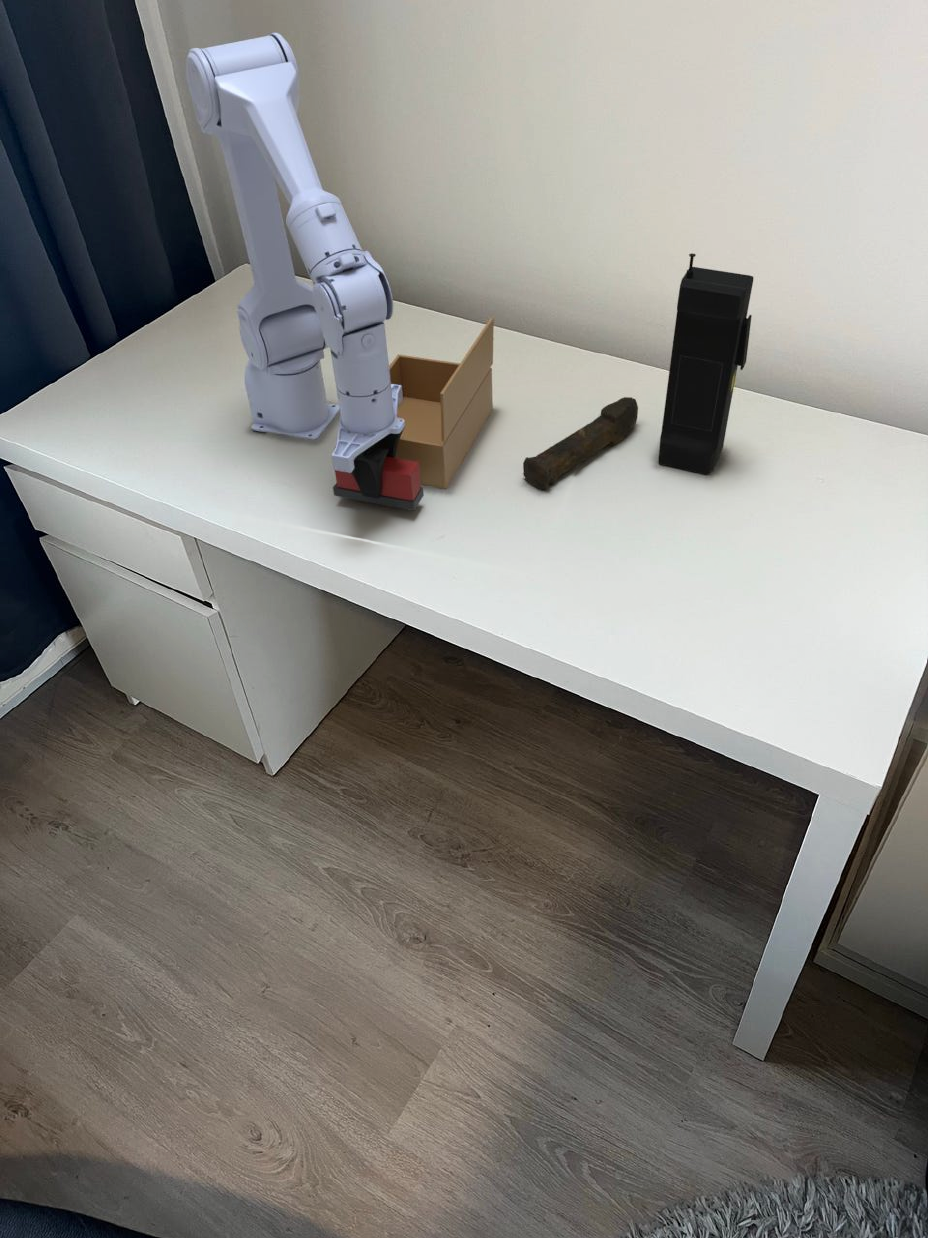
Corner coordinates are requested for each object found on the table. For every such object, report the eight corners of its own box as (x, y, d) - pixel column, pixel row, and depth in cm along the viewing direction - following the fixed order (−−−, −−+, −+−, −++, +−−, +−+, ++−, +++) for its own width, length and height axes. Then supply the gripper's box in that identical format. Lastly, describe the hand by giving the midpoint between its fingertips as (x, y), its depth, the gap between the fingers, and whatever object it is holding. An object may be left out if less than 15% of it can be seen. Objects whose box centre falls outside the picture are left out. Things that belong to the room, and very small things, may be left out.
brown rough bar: (544, 496, 110) (545, 464, 107) (521, 481, 112) (521, 449, 109) (652, 432, 118) (656, 400, 115) (628, 420, 120) (631, 388, 117)
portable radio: (731, 450, 115) (770, 249, 97) (719, 478, 111) (757, 273, 93) (668, 437, 117) (695, 238, 100) (654, 463, 114) (680, 261, 96)
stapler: (334, 495, 109) (328, 461, 105) (344, 480, 111) (339, 446, 107) (414, 511, 106) (410, 476, 103) (423, 495, 108) (420, 461, 105)
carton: (402, 397, 126) (398, 354, 122) (492, 411, 123) (491, 367, 118) (347, 473, 115) (340, 429, 110) (446, 491, 111) (443, 446, 107)
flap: (491, 316, 114) (493, 317, 113) (490, 363, 118) (492, 363, 118) (440, 393, 102) (443, 393, 102) (441, 441, 106) (444, 441, 106)
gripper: (370, 425, 92) (384, 532, 102) (424, 353, 102) (432, 457, 111) (306, 415, 94) (325, 521, 104) (364, 344, 103) (377, 447, 113)
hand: (377, 487), depth 108 cm, fingers closed on stapler, 2 cm apart
